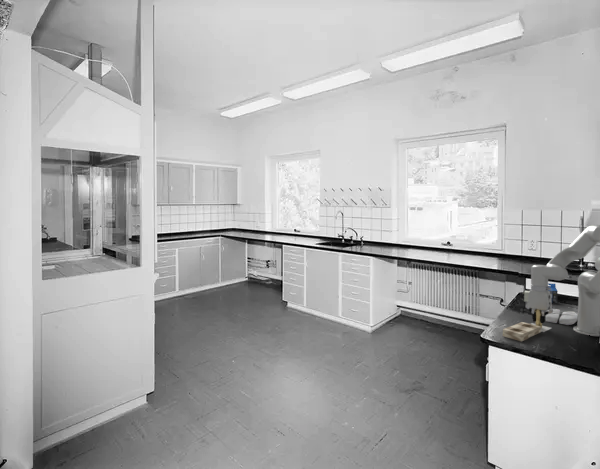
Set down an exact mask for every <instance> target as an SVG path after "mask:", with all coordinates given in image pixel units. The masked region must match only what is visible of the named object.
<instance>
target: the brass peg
mask: <svg viewBox="0 0 600 469" xmlns="http://www.w3.org/2000/svg"><path fill="white" fill-rule="evenodd" d="M541 316H542V311H541V310H538V309H536V321H535V323H534V324H535V325H537V326H541V327H542V326H543V323H541Z"/></svg>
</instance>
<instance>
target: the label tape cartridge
mask: <svg viewBox="0 0 600 469" xmlns="http://www.w3.org/2000/svg"><path fill="white" fill-rule="evenodd" d="M548 287H549V288H551V290H548V291H549V292H550V295H551V302H552V303H554V304H555V303H558V290H557V287H556V283H549V282H548Z"/></svg>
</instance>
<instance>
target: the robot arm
mask: <svg viewBox="0 0 600 469" xmlns="http://www.w3.org/2000/svg"><path fill="white" fill-rule="evenodd" d="M598 244H600V225H598V224H593V225H591V224H590V225H588V226H587V227H585V229H584V230H583V231H582V232H580V234H579V235H578V236H577V237H576V238H575V239H574V240H573V241H572V242H571V243H570V244H569V245H568V246H567V247H565V248H564V249H562V250H561V251H560V252H558V253H557V254H556V255H554V256H553V258H552V259H550V260H549V261H548V263H547V264H546V265H545V264H533V265H531V269H530V270H531V271H530V274H531V275H530V289H529V290H528V291H529V295H528V302H526V304H527V305H526V304H525V308H526V309H527V310H529V312H530V313H531V315H532V323H533V322H535V323H536V309H538V310H541V311H542V316H541V323H542V324H544V323H546V321H545V320H546V315H547V314H549V313H552V312H553V310H552V309H553V308H552V307H553V305H552V303H553V302H551V295H550V292H549V291H548V290H551V288H549V287H548V286H549V285H548V283H549V280H554V281H562V280H565V279H567V277H568V276H569V273H568V270H567V269H566V267H567V266H568V265H570V264H571V263H573V262H574V261H577V260H581V259H584V258H585V257H586V256H588V254H589V253H590V252H592V251H593V250H594V248H595V247H596V246H597V245H598ZM594 267H595V269H596V271H592V270H591V271H590V270H589V271H588V270H587V271H583V272H581V274H580V275H579V276H578V278H577V288H578V290H577V291H578V301H577V303H578V304H577V314H578V319H577V321H576V322H577V323H576V324H577V325H576V326H575V325H574V326H573V329H572V330H573V331H575V332H576V333H578V334H581V335H586V336H589V335H590V336H591V337H600V336H599V335H600V256H599V257H598V258H597V259H596V260H595V262H594ZM548 310H549V311H548ZM546 311H547V312H546Z"/></svg>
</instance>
